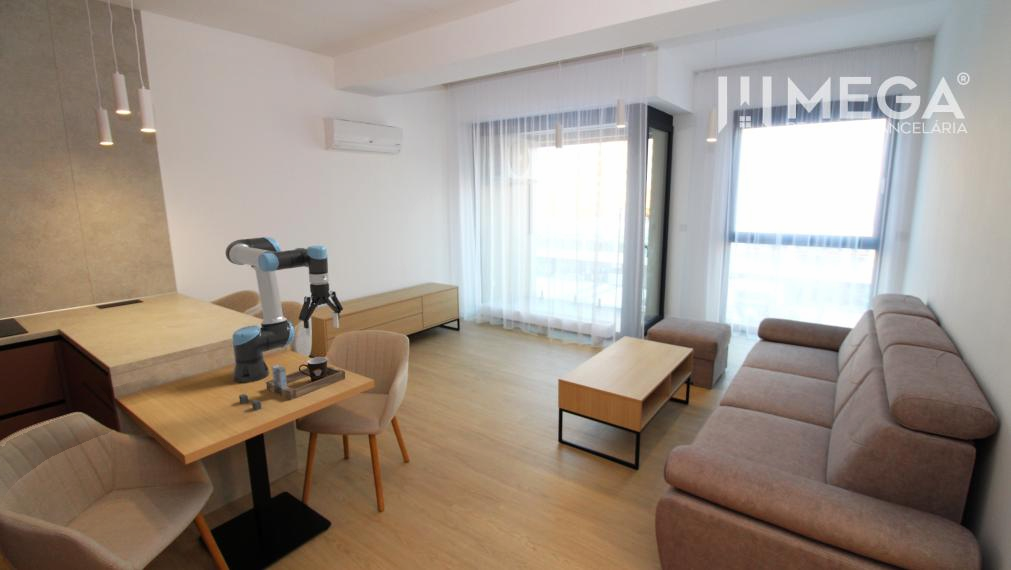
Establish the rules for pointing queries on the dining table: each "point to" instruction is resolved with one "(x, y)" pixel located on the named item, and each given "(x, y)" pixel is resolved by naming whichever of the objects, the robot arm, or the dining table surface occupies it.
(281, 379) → the brown frame
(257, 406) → the block
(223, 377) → the dining table surface
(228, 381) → the dining table surface
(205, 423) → the dining table surface
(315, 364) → the coffee mug
